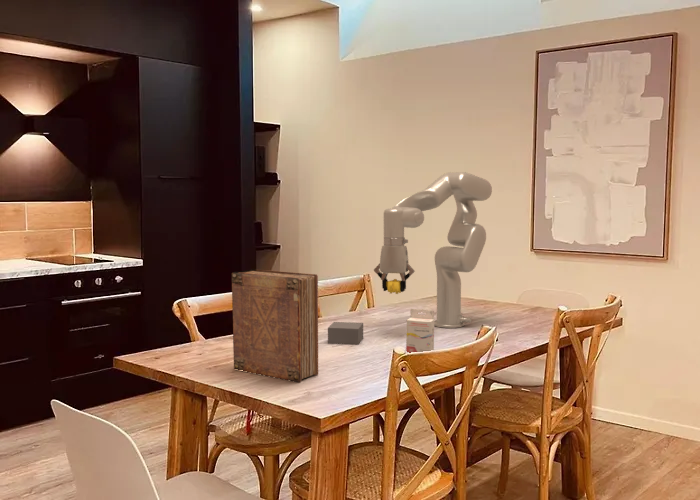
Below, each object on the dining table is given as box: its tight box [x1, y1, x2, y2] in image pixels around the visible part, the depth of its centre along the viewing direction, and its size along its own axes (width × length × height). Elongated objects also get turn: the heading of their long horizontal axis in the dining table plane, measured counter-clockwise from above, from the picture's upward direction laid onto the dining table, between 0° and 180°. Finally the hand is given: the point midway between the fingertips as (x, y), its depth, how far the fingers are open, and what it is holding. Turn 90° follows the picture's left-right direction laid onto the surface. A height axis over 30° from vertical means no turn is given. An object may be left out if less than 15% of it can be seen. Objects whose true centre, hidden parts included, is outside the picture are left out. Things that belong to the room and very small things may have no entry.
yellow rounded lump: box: [386, 278, 402, 295], centre depth 254 cm, size 8×6×5 cm
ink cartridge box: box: [405, 308, 435, 353], centre depth 228 cm, size 9×5×15 cm, turn 71°
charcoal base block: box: [327, 321, 364, 346], centre depth 248 cm, size 11×11×6 cm
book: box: [231, 268, 319, 383], centre depth 204 cm, size 25×9×30 cm, turn 57°
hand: (394, 290), depth 254 cm, fingers closed on yellow rounded lump, 5 cm apart
